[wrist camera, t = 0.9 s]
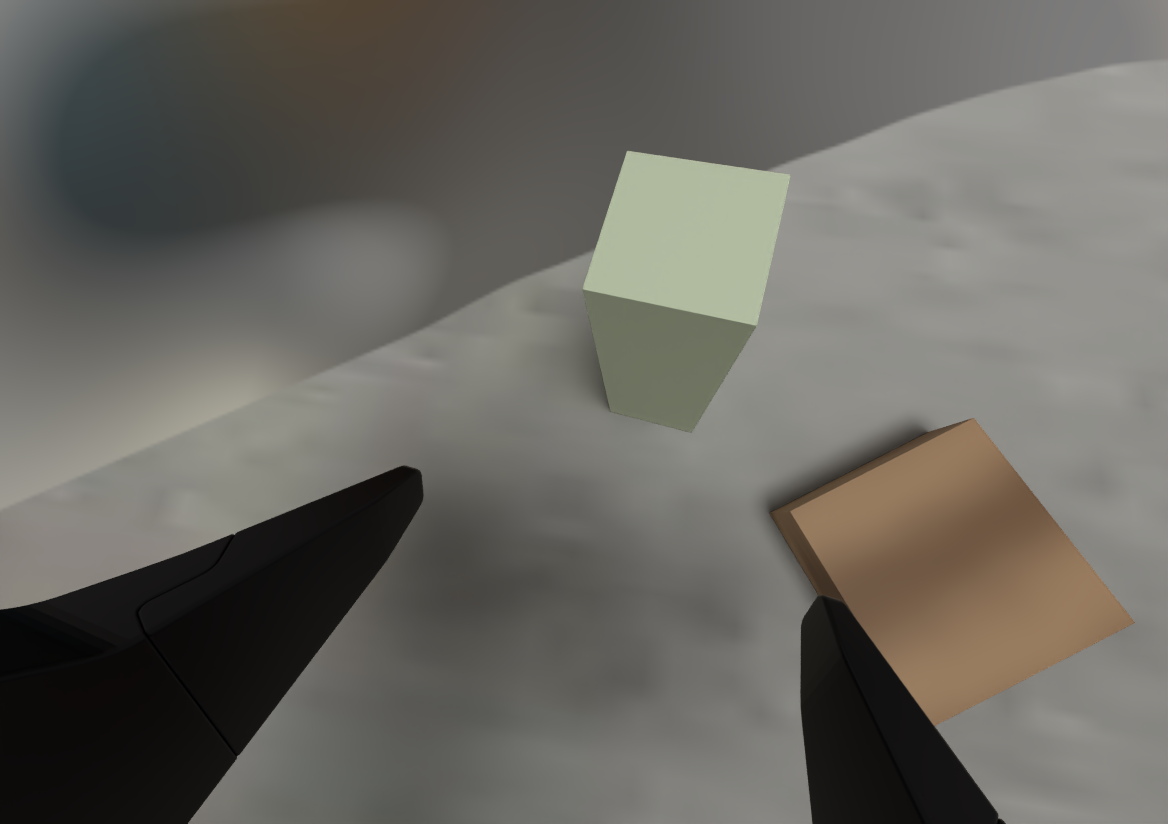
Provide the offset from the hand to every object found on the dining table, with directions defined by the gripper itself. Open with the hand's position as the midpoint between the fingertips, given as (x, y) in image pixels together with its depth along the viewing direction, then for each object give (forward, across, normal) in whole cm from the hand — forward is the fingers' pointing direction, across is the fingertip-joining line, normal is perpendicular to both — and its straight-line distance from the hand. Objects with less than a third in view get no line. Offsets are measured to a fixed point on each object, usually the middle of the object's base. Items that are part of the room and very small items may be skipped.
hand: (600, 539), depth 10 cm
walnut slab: (+11, -13, +8) cm, 19 cm away
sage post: (+15, 0, +4) cm, 16 cm away
